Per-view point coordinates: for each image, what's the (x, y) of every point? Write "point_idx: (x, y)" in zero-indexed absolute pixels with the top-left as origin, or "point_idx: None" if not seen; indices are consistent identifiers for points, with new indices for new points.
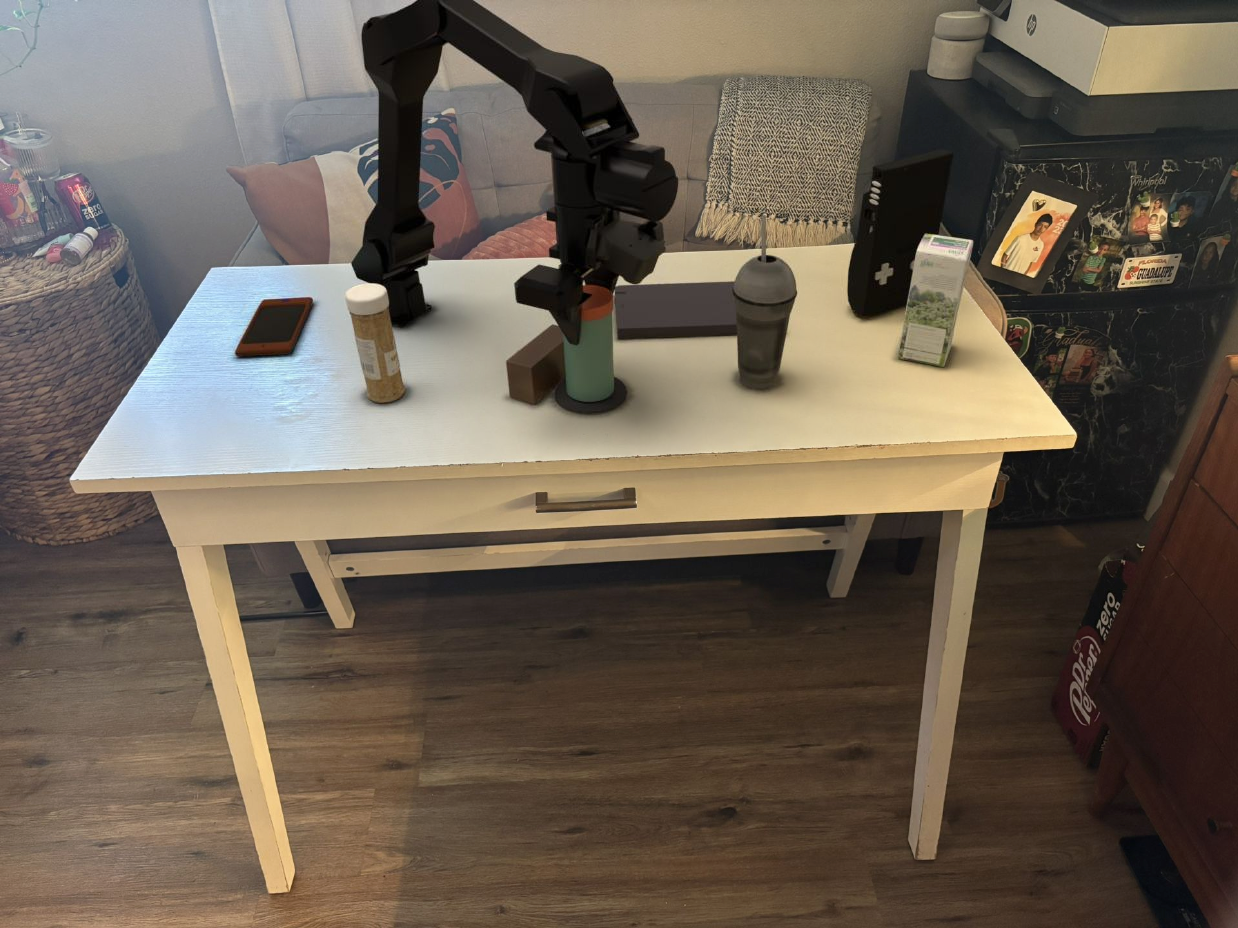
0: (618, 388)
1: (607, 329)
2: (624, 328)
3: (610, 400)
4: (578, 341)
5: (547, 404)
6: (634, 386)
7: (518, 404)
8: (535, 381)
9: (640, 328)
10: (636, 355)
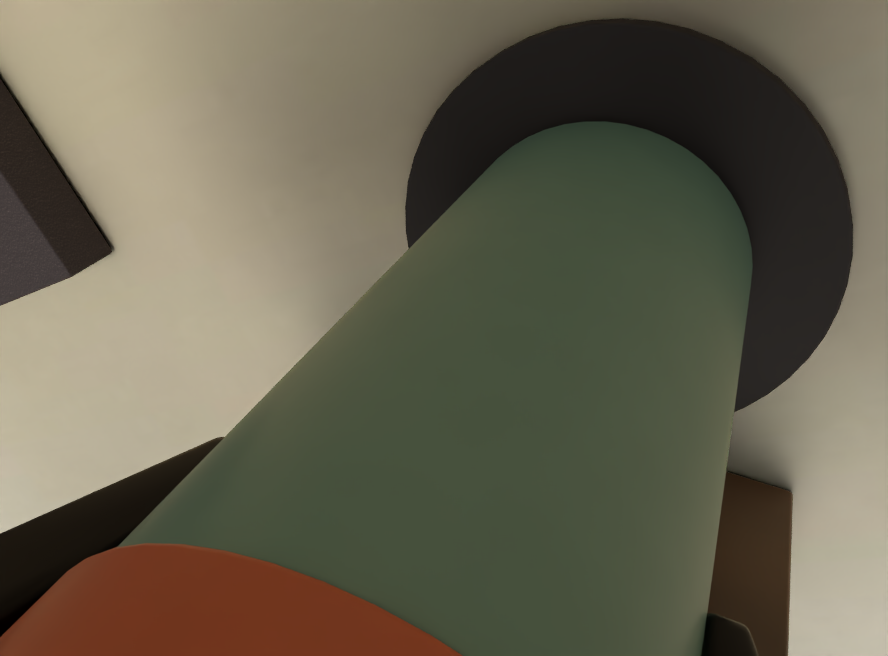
0: (520, 105)
1: (466, 445)
2: (50, 246)
3: (677, 108)
4: (736, 651)
5: (769, 435)
6: (438, 20)
7: (798, 553)
8: (755, 582)
9: (3, 171)
10: (169, 123)
